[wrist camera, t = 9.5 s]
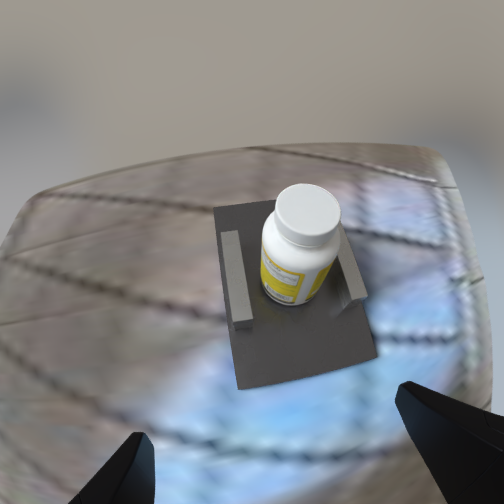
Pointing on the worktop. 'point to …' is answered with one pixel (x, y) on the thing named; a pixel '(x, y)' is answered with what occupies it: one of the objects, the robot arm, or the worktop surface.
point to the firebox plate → (287, 308)
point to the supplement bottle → (299, 243)
